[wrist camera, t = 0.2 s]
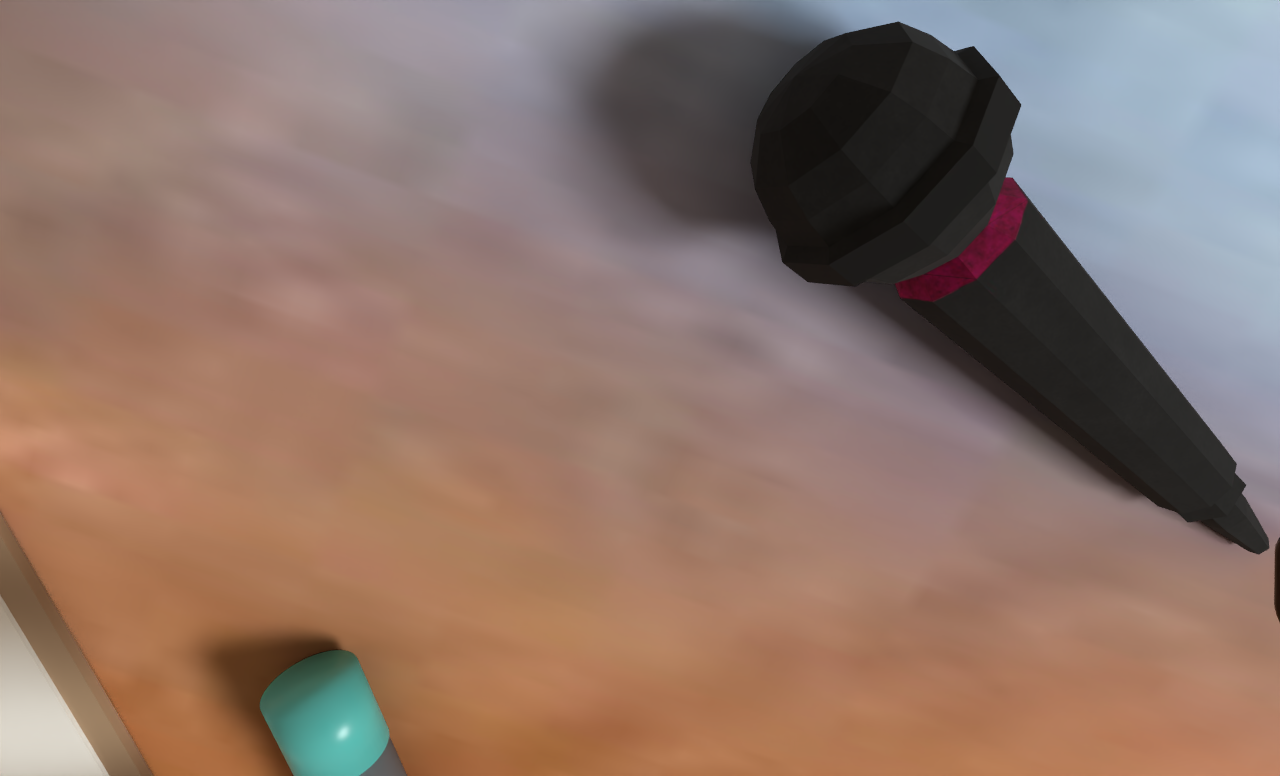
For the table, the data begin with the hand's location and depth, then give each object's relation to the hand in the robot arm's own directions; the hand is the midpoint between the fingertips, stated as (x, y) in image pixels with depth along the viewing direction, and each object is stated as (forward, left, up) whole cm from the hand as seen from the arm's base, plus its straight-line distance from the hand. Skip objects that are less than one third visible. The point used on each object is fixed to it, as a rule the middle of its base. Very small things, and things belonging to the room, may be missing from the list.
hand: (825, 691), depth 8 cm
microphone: (-3, -9, -15) cm, 17 cm away
